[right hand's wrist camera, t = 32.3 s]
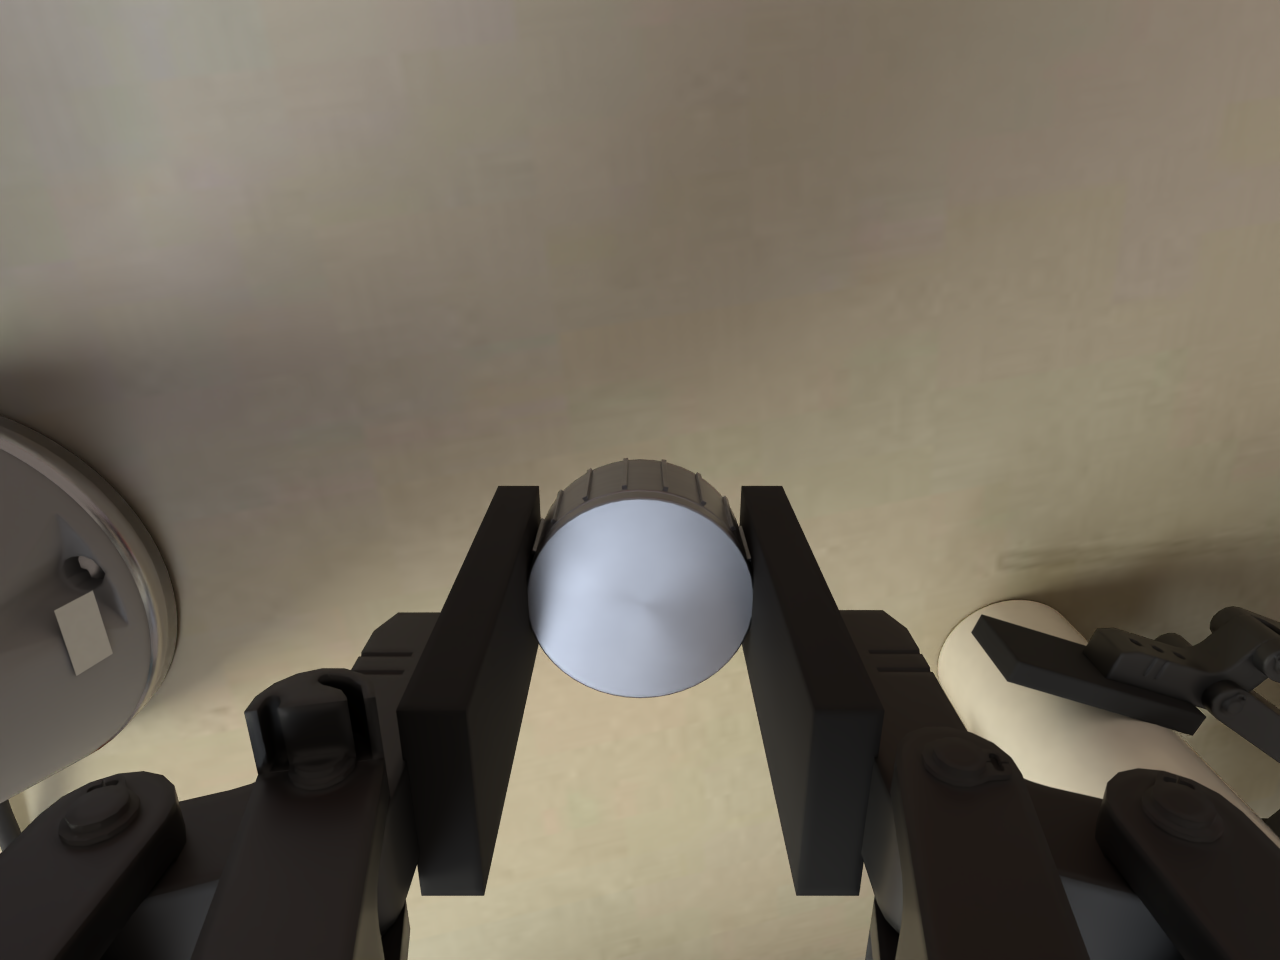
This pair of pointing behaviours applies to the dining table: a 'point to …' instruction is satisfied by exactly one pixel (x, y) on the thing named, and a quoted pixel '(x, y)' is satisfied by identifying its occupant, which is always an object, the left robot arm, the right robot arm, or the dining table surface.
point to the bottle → (1060, 719)
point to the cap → (640, 580)
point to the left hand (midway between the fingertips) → (949, 725)
